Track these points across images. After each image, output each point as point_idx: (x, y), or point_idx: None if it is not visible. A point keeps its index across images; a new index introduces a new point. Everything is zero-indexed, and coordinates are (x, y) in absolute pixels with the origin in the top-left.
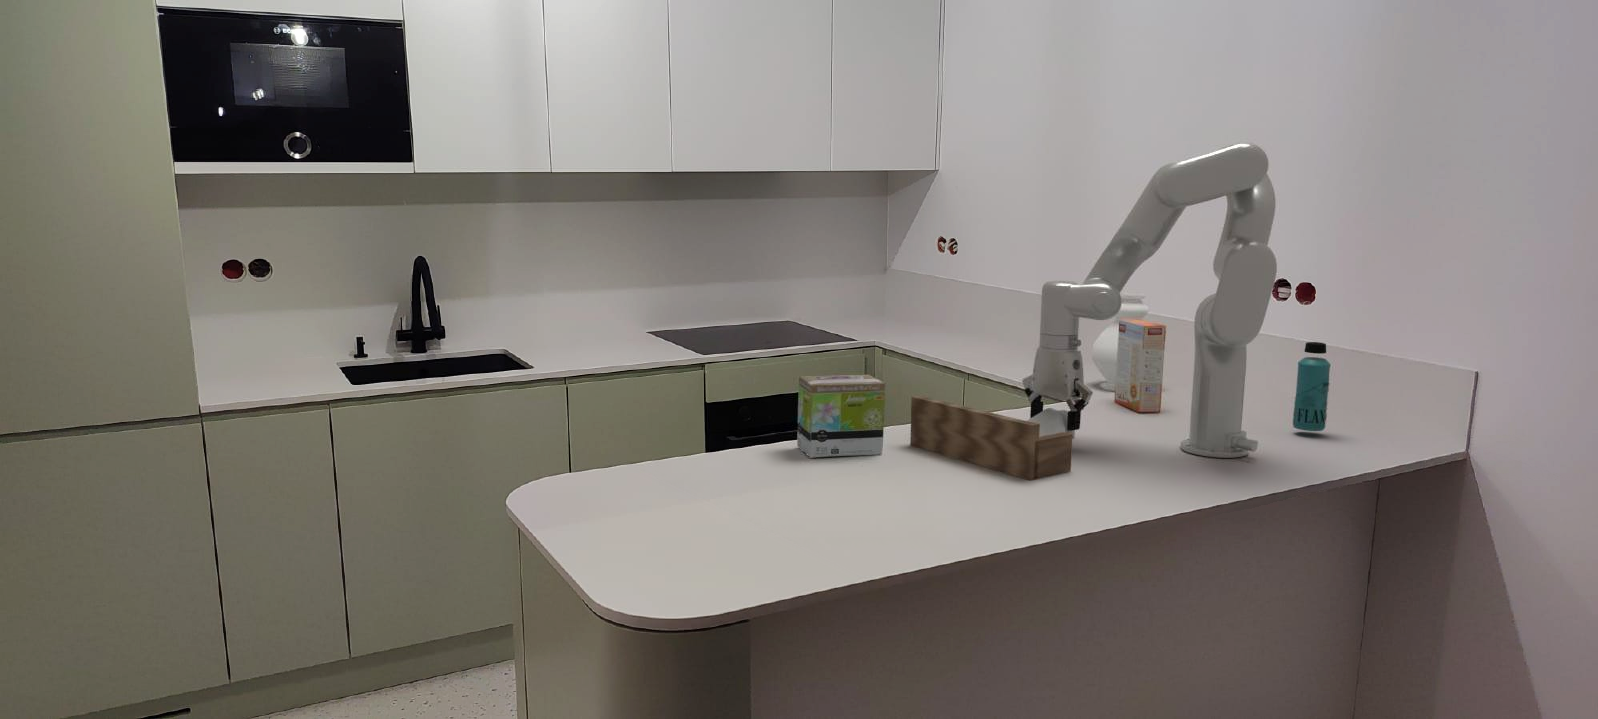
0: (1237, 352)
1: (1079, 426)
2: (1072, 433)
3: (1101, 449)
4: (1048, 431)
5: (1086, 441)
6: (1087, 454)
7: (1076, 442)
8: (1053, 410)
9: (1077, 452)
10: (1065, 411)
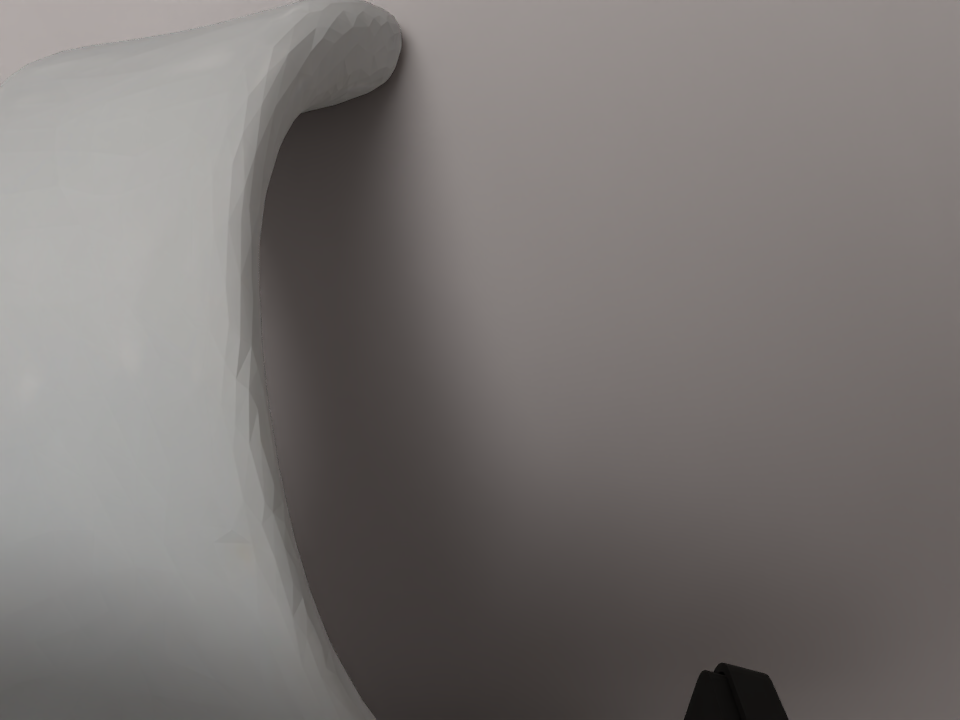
0: None
1: (772, 698)
2: (381, 73)
3: (951, 407)
4: None
5: (625, 139)
6: (896, 708)
7: (553, 279)
8: (94, 660)
9: None
10: (279, 483)
